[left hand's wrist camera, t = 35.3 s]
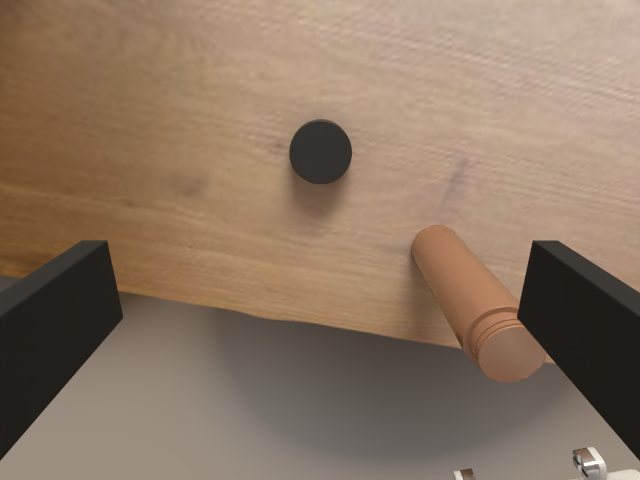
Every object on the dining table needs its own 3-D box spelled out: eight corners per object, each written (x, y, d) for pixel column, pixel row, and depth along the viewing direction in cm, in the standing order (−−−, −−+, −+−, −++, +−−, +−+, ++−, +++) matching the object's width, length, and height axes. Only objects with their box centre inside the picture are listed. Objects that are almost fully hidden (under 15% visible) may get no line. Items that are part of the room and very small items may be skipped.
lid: (280, 135, 40) (278, 137, 38) (335, 108, 39) (336, 109, 37) (306, 188, 42) (306, 193, 40) (359, 164, 41) (361, 168, 39)
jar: (467, 233, 44) (569, 333, 26) (446, 274, 45) (528, 395, 28) (422, 219, 43) (495, 312, 25) (403, 261, 45) (459, 376, 27)
